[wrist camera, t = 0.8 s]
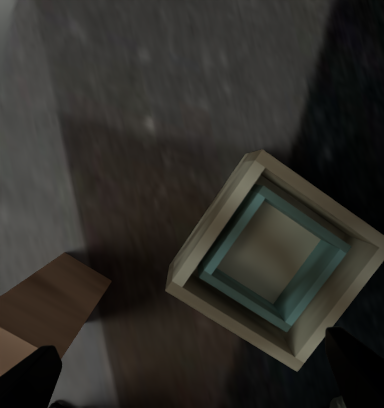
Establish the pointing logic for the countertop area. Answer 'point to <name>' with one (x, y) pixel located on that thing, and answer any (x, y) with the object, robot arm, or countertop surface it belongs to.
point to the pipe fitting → (337, 402)
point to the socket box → (275, 259)
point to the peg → (48, 309)
